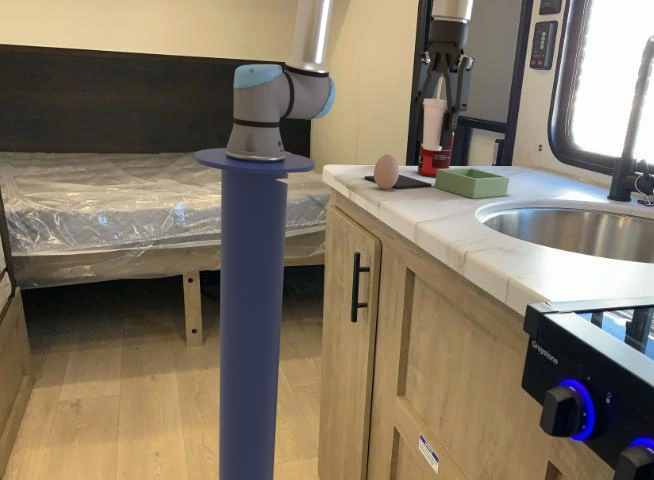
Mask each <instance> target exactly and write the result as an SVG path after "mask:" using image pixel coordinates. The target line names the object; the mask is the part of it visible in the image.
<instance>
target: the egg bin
mask: <svg viewBox="0 0 654 480" xmlns="http://www.w3.org/2000/svg"><path fill="white" fill-rule="evenodd" d="M434 181H435V182H434V188H436V189H439V190H443V191H446V192H450V193H452V194H457V195H459V196H463V197H467V198H469V199H481V198H482V199H483V198H492V197H503V196H504V197H505V196H507V194H508V189H509V188H508V187H509V182H510V177H509V176H505V175H501V174H497V173H494V172H489V171H485V170H481V169H478V168H473V167H457V168H449V169H437V173H436V177H435V180H434Z"/></svg>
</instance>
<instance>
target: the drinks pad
mask: <svg viewBox="0 0 654 480" xmlns="http://www.w3.org/2000/svg"><path fill="white" fill-rule="evenodd" d="M364 179H365V180H367V181H370V182H373V183H376V182H375V180H374V175H365V176H364ZM432 185H433V184H432V183H431V182H426V181H423V180H420V179H416V178H413V177H409V176H407V175H402V174H399V175H398V179H397V182H396V183H395V184H394V186H393V187H391V188H392V189H396V190H399V189H400V190H403V189H415V188H416V189H417V188H429V187H431V188H432Z"/></svg>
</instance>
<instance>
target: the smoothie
mask: <svg viewBox="0 0 654 480" xmlns="http://www.w3.org/2000/svg"><path fill="white" fill-rule="evenodd" d="M442 84H443V77H440V78H439V80H438V84H437V85H438V86H437V92H436V98H433V97H432V99H424V102H423V104H424V136H423V148H424V149H427V150H432V151H441V148H442V147H441V146H439V143H440V136H441V129H442V123H443V116H444V113H446V112H445V110H447V100H445V99H440V96H441V89H442Z"/></svg>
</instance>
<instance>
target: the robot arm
mask: <svg viewBox="0 0 654 480" xmlns="http://www.w3.org/2000/svg"><path fill="white" fill-rule="evenodd" d="M333 6H334V0H297V10H296V18H295V27H294V35H293V44H292V45H293V46H292V52H291V57H290V58H288V59H287V60H286V61H285V63H284V70H283V69H282V66H281V65H280V64H274V63H273V64H272V63H271V64H270V63H267V64H266V63H264V64H262V63H259V64H258V63H257V64H244V65H240V66H238V67H237V68H236V69H235V71H234V78H233V84H232V85H233V127H232V130H231V133H230V135H229V139H228V142H227V145H226V147H225V148H226V157H228V158H230V159H233V160H238V161H244V162H252V163H279V162H283V161H285V153H286V152H285V147H284V144H283V141H282V137H281V132H280V121H281V120H280V119H299V120H300V119H301V120H302V119H303V120H307V121H308V120H309V121H310V120H317V119H318V120H319V119H322V118H325V116H326V115H328V114H329V113H330V111H331V110H332V108H333V106H334V104H335V99H336V87H335V84H336V83H335V81H334V79H333V78H332V77H331V76H330V69H329V67H328V66H327V64H326V58H327V57H326V56H327V49H328V43H329V36H330V35H329V34H330V27H331V20H332V14H333ZM473 7H474V0H433V1H432V10H431V17H432V18H433V20H431V22H430V24H429V33H428V40H429V42H430V46H429V48H428V50H427V51H425V52H423V51H418V52H417V54H416V60H417V61H416V62H417V64H416V65H417V66H416V70H415V77H414V83H413V88H412V94H411V98H410V100H411V101H410V102H411V103H412V104H415V105H416V107H417V112H416V124H417V125H416V134H415V141H417V142H421V141H423V136H424V104H423V102H424V99H432V98H433V96H434V93H435V91H436V89H437V87H438V86H437V85H438V84H439V78H442V76H443V79H444V80H445V81H444V82H445V96H446V101H447V110H445V112H446V113H444V116H443V123H442V129H441V136H440V143H439V146H441V147H451V142H452V136H453V132H454V131H456V129H457V125H458V118H459V114H460V113H463V112H467V111H468V108H469V99H470V91H471V82H472V71H473V69H474V66H475V63H476V58H475V57H470V56H468V55H466V54H465V50H464V47H465V46H466V45H467V43H468V39H469V32H470V26H469V23H468V22H470V21H471V18H472V12H473Z"/></svg>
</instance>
